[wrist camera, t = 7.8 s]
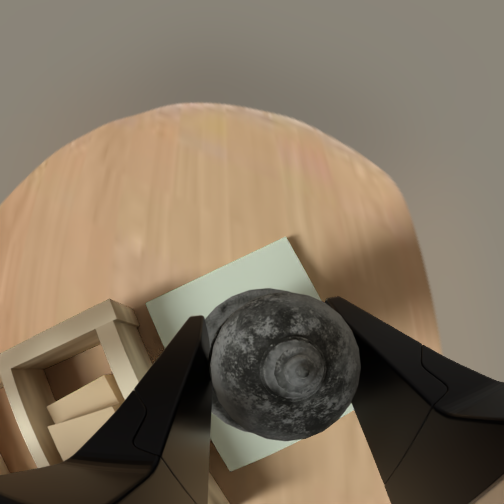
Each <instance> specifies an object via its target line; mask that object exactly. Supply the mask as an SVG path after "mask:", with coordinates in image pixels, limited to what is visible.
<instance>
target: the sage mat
mask: <svg viewBox="0 0 504 504" xmlns="http://www.w3.org/2000/svg"><path fill="white" fill-rule="evenodd" d="M265 288H272V289H278V290H284V291H289V292H292V293H298V294H304V295H309V296H311V297H313V298H316V299H318V300H320V301H321V299H320V297H319V295H318V293H317V292H316V290H315V288H314V286H313V284H312V282H311V281H310V279H309V277H308V275H307V273H306V272H305V270H304V268H303V266H302V264H301V263H300V261H299V259H298V257H297V255H296V254H295V252H294V250H293V248H292V247H291V245H290V243H289V241H288V240H287V238H286V237H284V238H282V239H279V240H277V241H275V242H273V243H271V244H269V245H267V246H265V247H263V248H261V249H258V250H256V251H254V252H252V253H250V254H248V255H246V256H244V257H242V258H239V259H237V260H235V261H233V262H231V263H229V264H227V265H225V266H223V267H220V268H218V269H216V270H214V271H212V272H210V273H208V274H206V275H204V276H202V277H199V278H197V279H195V280H193V281H191V282H189V283H187V284H185V285H183V286H180V287H178V288H176V289H174V290H172V291H170V292H168V293H166V294H164V295H161V296H159V297H157V298H155V299H153V300H151V301H149V302H147V303H146V306H147V308H148V311H149V313H150V316H151V318H152V320H153V323H154V325H155V327H156V330H157V332H158V334H159V337H160V339H161V341H162V343H163V346H164V348H166V346H167V345H168V344H169V343H170V341H171V340H172V339H173V337H174V336H175V335H176V334H177V332H178V331H179V330H180V328H181V327H182V326H183V324H184V323H185V322H186V321H187V319H188V318H189V317H190V316H198V315H203V316H204V318H205V319H206V317H207V316H208V315H209V314H210V313H211V312H212V311H213V309H214V308H215V307H217V306H218V305H219V304H221V303H222V302H224V301H225V300H227V299H228V298H230V297H231V296H234V295H237V294H240V293H242V292H245V291H248V290H253V289H265ZM353 410H354V408H353V406H352V403H351V404H350V405H349V407H348V408H347V409H346V411H345V412H344V413H343V414H342V416H341V417H343V416H345V415H346V414H348V413H350V412H351V411H353ZM341 417H340V418H341ZM340 418H339V419H340ZM210 439H211V440H212V442H213V444H214V446H215V447H216V449H217V451H218V452H219V454H220V456H221V458H222V459H223V461H224V463H225V464H226V466H227V468H228V469H229V471H230V472H231V471H233V470H236V469H238V468H241V467H243V466H246V465H248V464H251V463H253V462H255V461H257V460H260V459H262V458H264V457H266V456H269V455H271V454H273V453H275V452H277V451H279V450H281V449H284V448H286V447H288V446H290V445H292V444H294V443H296V442H298V441H300V440H302V439H300V440H292V441H279V440H271V439H266V438H263V437H261V436H258V435H256V434H253V433H250V432H244V431H242V430H239V429H237V428H235V427H232V426H230V425H228V424H226V423H224V422H223V421H222V420H221V419H219V418H218V417H217V416H216V415H214V414H213V413H212V412H211V431H210Z"/></svg>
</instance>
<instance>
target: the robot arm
mask: <svg viewBox="0 0 504 504" xmlns="http://www.w3.org/2000/svg"><path fill="white" fill-rule="evenodd" d="M325 303H326V304H327V305H329V306H330V307H331V308H332V309H334V310H335V311H336V312H337V313H339V314H340V315H341V316H342V318H343V319H344V321H345V322H346V323H347V325H348V326H349V327H350V329H351V330H352V332H353V335H354V338H355V340H356V343H357V345H358V348H359V356H360V364H361V369H360V376H359V383H358V388H357V390H356V392H355V395H354V397H353V399H352V402H351V403H352V406H353V408H354V411H355V413H356V415H357V418H358V420H359V423H360V425H361V428H362V430H363V433H364V435H365V437H366V440H367V442H368V445H369V447H370V450H371V452H372V455H373V457H374V460H375V463H376V465H377V468H378V470H379V473H380V475H381V478H382V480H383V483H384V485H385V489H386V491H387V494H388V496H389V499H390V502H391V504H504V382H499V381H496V380H494V379H491V378H489V377H486V376H485V375H482V374H480V373H478V372H476V371H474V370H471V369H469V368H467V367H465V366H462V365H460V364H458V363H456V362H454V361H452V360H450V359H448V358H446V357H444V356H442V355H441V354H439V353H437V352H435V351H433V350H432V349H430V348H428V347H426V346H425V345H422V344H421V343H419V342H418V341H416V340H414V339H412V338H411V337H409V336H407V335H405V334H404V333H402V332H400V331H399V330H397V329H395V328H393V327H392V326H390V325H388V324H386V323H385V322H383V321H381V320H380V319H378V318H376V317H374V316H373V315H371V314H369V313H367V312H366V311H364V310H362V309H360V308H359V307H357V306H355V305H354V304H352V303H350V302H348V301H347V300H345V299H343V298H341V297H339V296H337V297H331V298H327V299H326V301H325ZM209 353H210V342H209V335H208V331H207V326H206V322H205V318H204V316H203V315H198V316H190V317H189V318H188V319H187V321H186V322H185V323H184V324H183V326H182V327H181V328H180V330H179V331H178V332H177V334H176V335H175V336H174V337H173V339H172V340H171V341H170V343H169V344H168V345H167V346H166V348H165V349H164V350H163V352H162V353H161V354H160V355H159V357H158V358H157V359H156V361H155V362H154V363H153V364H152V366H151V367H150V368H149V370H148V371H147V372H146V374H145V375H144V376H143V377H142V379H141V380H140V381H139V383H138V384H137V385H136V387H135V388H134V390H135V391H134V390H132V392H131V393H130V394H129V395H128V397H127V398H126V399H125V401H124V402H123V403H122V404H121V405H120V407H119V408H118V409H117V410H116V412H115V413H114V414H113V415H112V416H111V417H110V418H109V419H108V420H107V421H106V422H105V423H104V425H103V426H102V427H101V428H100V429H99V430H98V431H97V432H96V433H95V434H94V435H93V436H92V437H91V438H90V439H89V440H88V441H87V442H86V443H85V444H84V445H83V446H82V447H81V448H80V449H79V450H78V451H77V452H76V453H75V454H74V455H72V456H71V457H70V458H68V459H67V460H65V461H63V462H61V463H58V464H54V465H50V466H46V467H41V468H36V469H31V470H26V471H21V472H16V473H10V474H4V475H0V504H208V480H209V454H210V431H211V411H212V391H213V386H212V383H211V381H210V375H209V365H208V358H209Z"/></svg>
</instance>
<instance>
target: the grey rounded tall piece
mask: <svg viewBox="0 0 504 504" xmlns="http://www.w3.org/2000/svg"><path fill="white" fill-rule="evenodd" d="M205 322H206V326H207V331H208V335H209V342H210V353H209V358H208V365H209V375H210V381H211V383H212V386H213V391H212V411H211V412H212V413H213V414H214V415H216V416H217V417H218V418H219V419H221V420H222V421H223V422H224V423H226V424H228V425H230V426H232V427H235V428H237V429H239V430H242V431H244V432H250V433H253V434H256V435H258V436H261V437H263V438H266V439H271V440H279V441H292V440H300V439H306V438H308V437H311V436H313V435H315V434H318V433H320V432H322V431H324V430H325V429H327V428H328V427H329V426H331V425H332V424H333V423H335V422H336V421H337V420H338V419H339V418H340V417H341V416H342V414H343V413H344V412H345V411H346V409H347V408H348V407H349V405H350V404H351V402H352V399H353V397H354V395H355V392H356V390H357V388H358V383H359V376H360V369H361V364H360V356H359V348H358V345H357V343H356V340H355V338H354V335H353V332H352V330H351V329H350V327H349V326H348V325H347V323H346V322H345V321H344V319H343V318H342V316H341V315H340V314H339V313H337V312H336V311H335V310H334V309H332V308H331V307H330V306H329V305H327V304H326V303H324V302H322V301H320V300H318V299H316V298H313V297H311V296H309V295H304V294H298V293H292V292H289V291H284V290H278V289H272V288H265V289H253V290H248V291H245V292H242V293H240V294H237V295H234V296H231V297H230V298H228V299H227V300H225V301H224V302H222V303H221V304H219V305H218V306H217V307H215V308H214V309H213V311H212V312H211V313H210V314H209V315H208V316H207V317H206V319H205Z"/></svg>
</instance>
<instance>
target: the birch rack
mask: <svg viewBox="0 0 504 504" xmlns="http://www.w3.org/2000/svg"><path fill="white" fill-rule="evenodd" d="M138 326H140V325H139V323H138V320H137V318H136V315H135V313H134V310H133V309H131V308H129V307H127V306H124V305H122V304H120V303H118V302H115V301H113V300H111V299H108V300H106V301H104V302H102V303H100V304H98V305H95V306H93V307H91V308H89V309H87V310H85V311H83V312H81V313H79V314H77V315H75V316H73V317H71V318H69V319H67V320H65V321H63V322H61V323H59V324H57V325H55V326H53V327H51V328H49V329H47V330H45V331H43V332H41V333H39V334H37V335H35V336H33V337H32V338H30V339H28V340H26V341H24V342H22V343H20V344H18V345H16V346H14V347H12V348H10V349H8V350H6V351H4V352H2V353H0V388H2V387H4V388H5V391H6V394H7V397H8V400H9V403H10V406H11V408H12V411H13V414H14V416H15V419H16V421H17V424H18V426H19V429H20V431H21V433H22V436H23V438H24V440H25V443H26V445H27V447H28V449H29V451H30V453H31V455H32V458H33V460H34V462H35V464H36V466H37V468H41V467H46V466H50V465H54V464H58V463H61V462H63V460H62V457H61V455H60V453H59V451H58V449H57V447H56V445H55V443H54V440H53V438H52V436H51V434H50V431H49V429H48V426H51V425H55V423H54V421H53V419H52V417H51V415H50V413H49V411H48V409H47V406H49V405H51V404H52V403H54V402H56V401H55V399H54V396H53V394H52V391H51V389H50V386H49V383H48V381H47V378H46V375H45V372H44V369H46V368H48V367H50V366H52V365H55V364H57V363H59V362H61V361H64V360H66V359H68V358H70V357H73V356H75V355H77V354H79V353H81V352H84V351H86V350H88V349H90V348H92V347H95V346H97V345H99V344H101V345H102V348H103V350H104V353H105V355H106V358H107V360H108V363H109V365H110V368H111V370H112V372H113V375H114V377H115V379H116V382H117V384H118V386H119V388H120V391H121V393H122V395H123V397H124V399H126V398H127V397H128V395H129V394H130V393H131V392H132V390H134V388H135V387H136V385H137V384H138V383H139V381H140V380H141V379H142V377H143V376H144V375H145V374H146V372H147V371H148V370H149V368H150V367H151V366H152V362H151V360H150V358H149V355H148V353H147V351H146V349H145V346H144V344H143V342H142V339H141V337H140V335H139V332H138V330H137V327H138ZM134 391H135V390H134ZM4 474H10V473H9V471H8V469H7V467H6V465H5V463H4V460H3V458H2V456H1V454H0V475H4ZM208 504H230V503H229V502H228V500H227V499H226V497H225V496H224V494H223V492H222V491H221V489H220V488H219V486H218V485H217V483H216V482H215V480H214V478H213V477H212V475H211V474H210V472H209V480H208Z"/></svg>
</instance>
